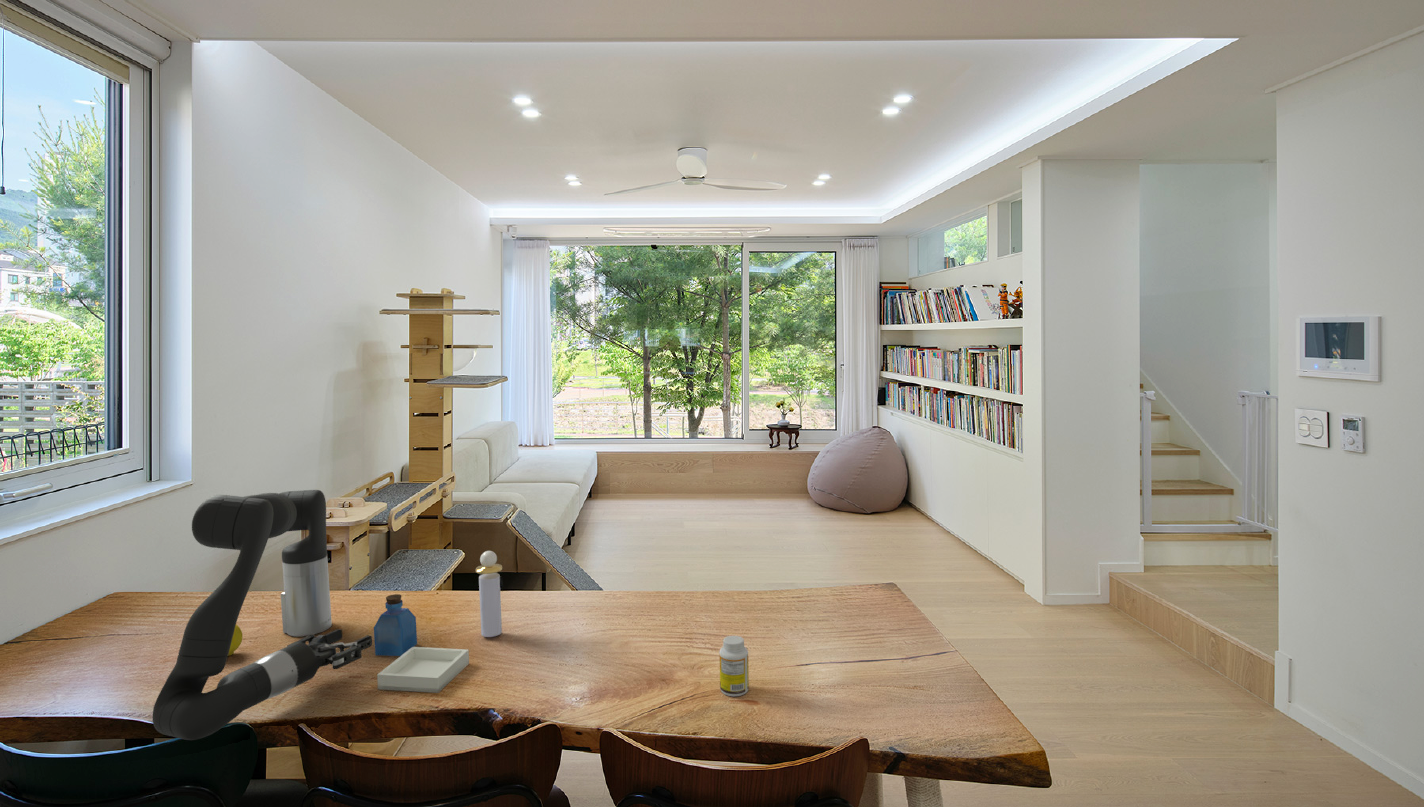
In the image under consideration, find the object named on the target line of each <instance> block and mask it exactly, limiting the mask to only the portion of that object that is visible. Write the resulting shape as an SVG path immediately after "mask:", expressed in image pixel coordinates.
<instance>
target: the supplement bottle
mask: <svg viewBox="0 0 1424 807" xmlns="http://www.w3.org/2000/svg"><path fill="white" fill-rule="evenodd" d="M722 642H723V644H722V647H721V648H720V649H719V653H718V654H719V689H720V691H721V693H722V694H724V695H725V696H729V697H734V698H735V697H740V696H744V695H745V694H746V693H747V692H749V687H750V685H749V684H750V683H749V681H750V680H749V677H750V676H749V672H750V671H749V650H748V648H747V647H746V646H745V639H744V638H743V637H742V636H740V635H728V636H725V637H724V638H723V641H722Z"/></svg>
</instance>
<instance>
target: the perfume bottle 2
mask: <svg viewBox="0 0 1424 807" xmlns="http://www.w3.org/2000/svg"><path fill="white" fill-rule="evenodd" d="M479 561H480V564H481V565H478V566H477V567H476V568H475V573H477V574H479V576H478V586H479V587H478V589H479V590H478V591H479V608H480V610H479V611H480V633H481V636H482V637H484V638H485V637H486V638H493V637H496V636H499V635H501V634H502V632H503V626H502V625H503V623H502V598H501V595H502V594H501V589H502V591H503V590H504V588H503V587H504V581H503V579H502V576H500V573H498V572H501V571H502V570H503V565H502V564H500V563H497V561H498V556H497V554H496V553H495V552H494V551H492V550H486V551H484V552H482V554H481V555H480V558H479Z"/></svg>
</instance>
